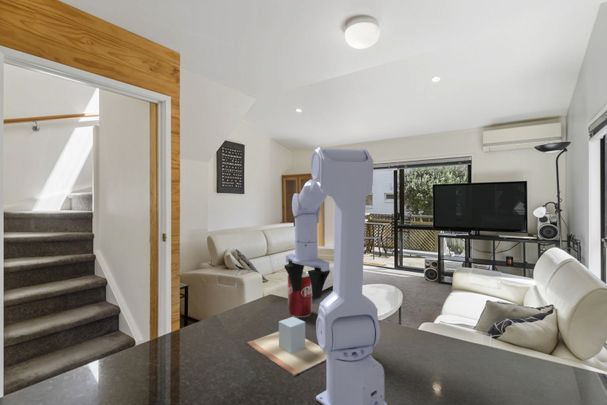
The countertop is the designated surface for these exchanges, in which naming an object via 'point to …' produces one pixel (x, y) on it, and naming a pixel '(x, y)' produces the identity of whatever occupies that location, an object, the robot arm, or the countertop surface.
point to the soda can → (300, 298)
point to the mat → (288, 361)
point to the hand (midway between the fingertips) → (306, 294)
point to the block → (292, 334)
